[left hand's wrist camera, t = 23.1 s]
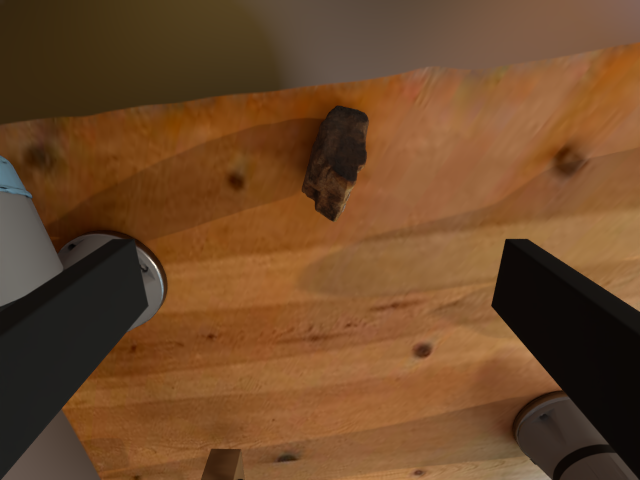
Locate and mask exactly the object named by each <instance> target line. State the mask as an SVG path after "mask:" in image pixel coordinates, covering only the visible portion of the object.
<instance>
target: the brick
mask: <svg viewBox="0 0 640 480" xmlns="http://www.w3.org/2000/svg"><path fill="white" fill-rule="evenodd" d="M238 479H243V480H245V478H244V469H243V461H242V452H241V449H211V451H210V454H209V457H208V460H207V463H206V466H205V469H204V472H203V475H202V478H201V480H238Z"/></svg>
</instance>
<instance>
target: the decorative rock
mask: <svg viewBox="0 0 640 480" xmlns="http://www.w3.org/2000/svg"><path fill="white" fill-rule="evenodd" d="M368 124H369V120H368V117H367V115H366V114H365V113H363V112H361V111H359V110H356V109H351V108H347V107H343V106H336V107H335V108H334V109H332V110H331V112H329V114H328V115H327V117H326V119H325V120H324V121H323V122H322V123H321V125H320V128H319V132H318V135H317V138H316V141H315V142H314V145H313V147H312V152H311V156H310V160H309V164H308V167H307V171H306V175H305V179H304V182H303V186H302V192H303V193H305V194H306V195H307V197H309V198H311V199H313V200H314V201H315V210H316V211H317V212H320V213H321V214H322V215H324V216H325V217H326V218H328V219H329V220H331V221H333V222H335V221H337V220H338V218H339V216H340V215H341V213H342V212H343V211H344V208H345V205H346V201H347V200H348V198H349V195H350V191H351V190H352V189H353V187H354V185H355V184H356V180H357V173H358V172H359V171H360V170H361V169H362V168H364V167H365V163H366V159H367V152H366V149H365V148H366V134H367V128H368Z"/></svg>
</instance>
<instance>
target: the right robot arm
mask: <svg viewBox="0 0 640 480" xmlns="http://www.w3.org/2000/svg"><path fill="white" fill-rule="evenodd" d="M513 435H514V438H515V440H516V441H517V443H518V445H519V447H520V448H521V450H522V451H523V452H524V453H525V454H526V455H527V456H528V457H529V458H530V460H531V461H532V462H533V463H534V464H536V465H538V466H539V467H540V468H541V469H542V470H543V471H544V472H545V473H546V474H547V475H548V476H549V477H550V478H551V479H552V480H639V479H638V478H637V477H636V476H635V474H634V473H633V472H632V471H631V470H630V469H629V467H628V466H627V465H626V464H625V463H624V461H623V460H622V459H621V458H620V457H619V456H618V454H617V453H616V452H615V451H614V450H613V449H612V447H611V446H610V445H609V444H608V443H607V441H606V440H605V439H604V438H603V437H602V436H601V434H600V433H599V432H598V431H597V430H596V429H595V427H594V426H593V425H592V424H591V423H590V421H589V420H588V419H587V418H586V417H585V416H584V414H583V413H582V412H581V411H580V410H579V409H578V407H577V406H576V405H575V404H574V403H573V401H572V400H571V399H570V398H569V397H568V396H567V394H566V393H565V392H564V391H560V392H554V393H550V394H547V395H544V396H542V397H539V398H537V399H536V400H534V401H532V402H531V403H529V404H528V405H527V406H526V407H524V408H523V409H522V410H521V412H520V413H519V414H518V416H517V417H516V419H515V422H514V425H513ZM238 480H243V479H238Z"/></svg>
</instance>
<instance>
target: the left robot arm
mask: <svg viewBox="0 0 640 480" xmlns="http://www.w3.org/2000/svg"><path fill="white" fill-rule="evenodd" d="M31 198H33V197H32V195H31V194H30V193H29V192H28V191H26V189H25V187H24V186H23V184H22V182H21V180H20V178H19V177H18V175H17V173H16V171H15V169H14V167H13V166H12V164H11V163H10V162H9V161H8V160H7V159H5V158H4V157H2V156H0V480H1V479H2V478H3V477H4V475H5V474H6V473H7V472H8V471H9V470H10V469H11V467H12V466H13V465H14V464H15V463H16V461H17V460H18V459H19V458H20V457H21V456H22V454H23V453H24V452H25V451H26V450H27V448H28V447H29V446H30V445H31V444H32V443H33V441H34V440H35V439H36V438H37V437H38V435H39V434H40V433H41V432H42V431H43V430H44V429H45V427H46V426H47V425H48V424H49V423H50V421H51V420H52V419H53V418H54V417H55V416H56V414H57V413H58V412H59V411H60V410H61V409H62V407H63V406H64V405H65V404H66V403H67V401H68V400H69V399H70V398H71V397H72V396H73V394H74V393H75V392H76V391H77V390H78V389H79V387H80V386H81V385H82V384H83V383H84V381H85V380H86V379H87V378H88V377H89V376H90V374H91V373H92V372H93V371H94V370H95V369H96V367H97V366H98V365H99V364H100V363H101V361H102V360H103V359H104V358H105V357H106V356H107V354H108V353H109V352H110V351H111V350H112V349H113V347H114V346H115V345H116V344H117V343H118V341H119V340H120V339H121V338H122V337H123V336H124V334H125V333H126V332H128V331H130V330H132V329H133V328H135V327H137V326H140V325H142V324H143V323H145V322H147V321H148V320H150V319H151V318H152V317H153V316H154V315H155V314H156V312H157V311H158V310H159V308H160V307H161V306H162V304H163V302H164V300H165V298H166V294H167V279H166V275H165V271H164V269H163V267H162V265H161V263H160V262H159V260H158V259H157V257H156V256H155V255H154V254H153V253H152V252H151V250H149V249H148V248H147V247H146V246H145V245H143V244H142V243H141V242H139V241H138V240H136V239H134V238H132V237H130V236H127V235H125V234H122V233H118V232H113V231H93V232H89V233H86V234H83V235H81V236H79V237H77V238H75V239H74V240H72V241H70V242H69V243H67V244H66V245H65V246H64V247H63V248H62V249H61V250H60V251H59V253H58V254H57V253H56V251H55V249H54V246H53V244H52V242H51V240H50V238H49V236H48V234H47V232H46V229H45V227H44V225H43V223H42V221H41V219H40V217H39V215H38V213H37V210H36V208H35V206H34V204H33V202H32V200H31ZM491 306H492V307H493V309H494V310H495V311H496V312H497V313H498V314H499V316H500V317H501V318H502V319H503V320H504V321H505V323H506V324H507V325H508V326H509V327H510V329H511V330H512V331H513V332H514V333H515V334H516V336H517V337H518V338H519V339H520V340H521V341H522V343H523V344H524V345H525V346H526V347H527V349H528V350H529V351H530V352H531V353H532V354H533V356H534V357H535V358H536V359H537V360H538V361H539V363H540V364H541V365H542V366H543V367H544V369H545V370H546V371H547V372H548V373H549V374H550V376H551V377H552V378H553V379H554V380H555V381H556V383H557V384H558V385H559V386H560V387H561V389H562V390H563V391H564V392H565V393H566V394H567V396H568V397H569V398H570V399H571V400H572V401H573V403H574V404H575V405H576V406H577V407H578V409H579V410H580V411H581V412H582V413H583V414H584V416H585V417H586V418H587V419H588V420H589V421H590V423H591V424H592V425H593V426H594V427H595V429H596V430H597V431H598V432H599V433H600V434H601V436H602V437H603V438H604V439H605V440H606V441H607V443H608V444H609V445H610V446H611V447H612V449H613V450H614V451H615V452H616V453H617V454H618V456H619V457H620V458H621V459H622V460H623V461H624V463H625V464H626V465H627V466H628V467H629V469H630V470H631V471H632V472H633V473H634V474H635V476H636V477H637V478H638V479H639V480H640V312H639V311H638V310H636V309H635V308H633V307H631V306H630V305H628V304H627V303H625V302H624V301H622V300H621V299H619V298H618V297H616V296H614V295H613V294H611V293H610V292H608V291H607V290H605V289H604V288H602V287H601V286H599V285H598V284H596V283H594V282H593V281H591V280H590V279H588V278H587V277H585V276H584V275H582V274H581V273H579V272H578V271H576V270H574V269H573V268H571V267H570V266H568V265H567V264H565V263H564V262H562V261H561V260H559V259H557V258H556V257H554V256H553V255H551V254H550V253H548V252H547V251H545V250H544V249H542V248H541V247H539V246H537V245H536V244H534V243H533V242H531V241H530V240H528V239H506V240H505V245H504V249H503V254H502V259H501V263H500V268H499V273H498V277H497V282H496V287H495V291H494V296H493V301H492V305H491Z"/></svg>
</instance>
